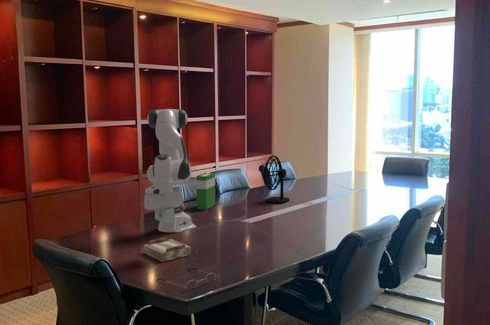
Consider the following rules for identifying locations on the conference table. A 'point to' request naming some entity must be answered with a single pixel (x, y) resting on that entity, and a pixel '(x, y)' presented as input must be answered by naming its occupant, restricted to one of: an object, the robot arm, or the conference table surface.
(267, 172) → the desk fan
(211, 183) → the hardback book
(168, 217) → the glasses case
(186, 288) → the eyeglasses
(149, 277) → the conference table surface
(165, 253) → the display stand
